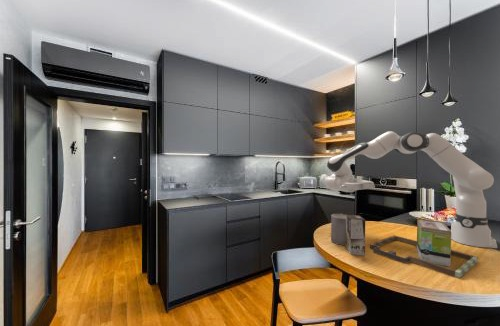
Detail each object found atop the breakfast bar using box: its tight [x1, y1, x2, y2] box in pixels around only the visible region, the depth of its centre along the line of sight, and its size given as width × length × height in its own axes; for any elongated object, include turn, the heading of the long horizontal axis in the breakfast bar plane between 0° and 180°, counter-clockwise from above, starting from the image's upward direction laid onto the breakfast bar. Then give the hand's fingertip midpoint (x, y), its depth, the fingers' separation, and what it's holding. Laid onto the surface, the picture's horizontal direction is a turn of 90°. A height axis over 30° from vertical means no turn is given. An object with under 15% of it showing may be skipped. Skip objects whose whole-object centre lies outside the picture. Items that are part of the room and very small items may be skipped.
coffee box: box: [345, 214, 366, 256], centre depth 103 cm, size 9×6×16 cm
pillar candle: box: [330, 212, 347, 246], centre depth 115 cm, size 10×10×15 cm
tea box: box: [416, 219, 452, 268], centre depth 96 cm, size 15×10×15 cm
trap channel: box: [369, 234, 479, 279], centre depth 98 cm, size 28×32×2 cm
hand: (373, 186), depth 117 cm, fingers closed
